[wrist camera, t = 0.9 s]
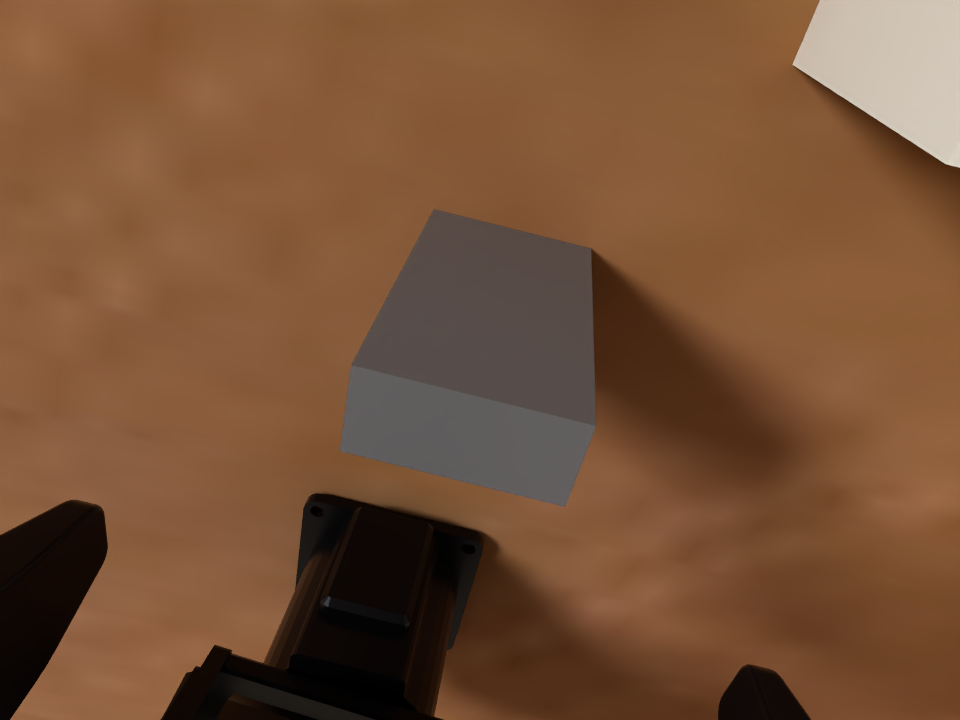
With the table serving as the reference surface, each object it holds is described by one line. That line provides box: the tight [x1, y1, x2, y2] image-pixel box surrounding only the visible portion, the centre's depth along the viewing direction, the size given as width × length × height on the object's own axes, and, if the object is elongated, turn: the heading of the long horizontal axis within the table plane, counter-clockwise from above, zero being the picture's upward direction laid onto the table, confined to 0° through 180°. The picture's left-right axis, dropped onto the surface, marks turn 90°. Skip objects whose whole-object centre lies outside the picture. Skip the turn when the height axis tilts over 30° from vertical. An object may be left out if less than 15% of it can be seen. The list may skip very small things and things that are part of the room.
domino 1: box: [340, 209, 596, 507], centre depth 16 cm, size 2×4×8 cm, turn 78°
